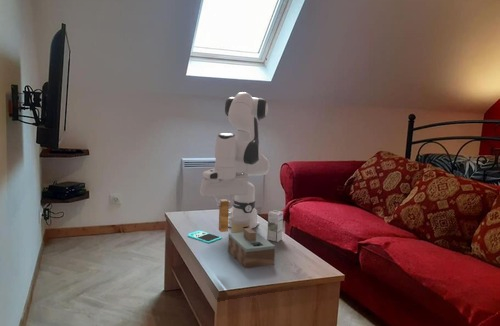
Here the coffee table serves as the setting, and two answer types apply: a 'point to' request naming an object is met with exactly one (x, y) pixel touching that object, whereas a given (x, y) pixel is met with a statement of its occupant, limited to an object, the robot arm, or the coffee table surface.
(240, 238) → the toolbox lid
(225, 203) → the wooden block
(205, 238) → the handheld game console
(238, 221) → the coffee cup
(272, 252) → the toolbox
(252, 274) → the coffee table surface
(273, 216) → the syrup box
